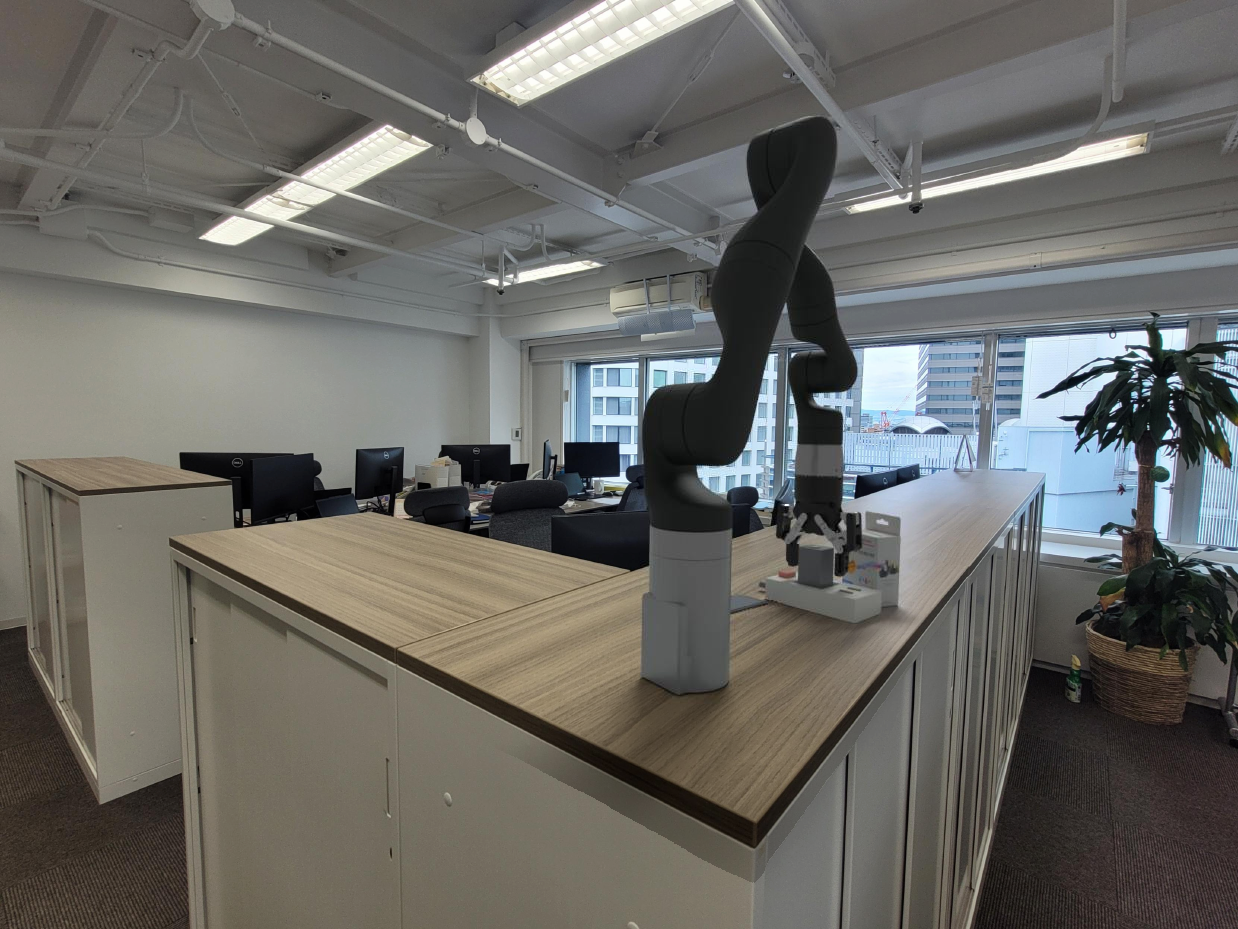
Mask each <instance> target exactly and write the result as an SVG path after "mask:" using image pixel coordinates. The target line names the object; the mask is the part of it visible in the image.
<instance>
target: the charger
mask: <svg viewBox="0 0 1238 929" xmlns="http://www.w3.org/2000/svg"><path fill="white" fill-rule="evenodd" d="M834 565H835V548H834V547H831V546H825V545H820V544H814V543H812V544H806V545H801V546H800V545H799V555H798V566H797V572H798V584H802V585H806V586H810V587H814V588H819V589H824V588H828V587H831V586H833V580H834Z"/></svg>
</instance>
